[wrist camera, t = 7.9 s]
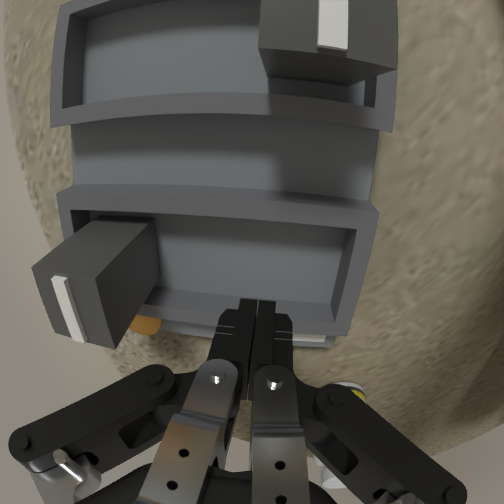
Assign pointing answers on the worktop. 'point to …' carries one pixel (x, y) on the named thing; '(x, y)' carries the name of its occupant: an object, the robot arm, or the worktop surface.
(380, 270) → the worktop surface
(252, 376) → the robot arm
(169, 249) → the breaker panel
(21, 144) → the worktop surface
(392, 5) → the knob
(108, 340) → the knob tagged
